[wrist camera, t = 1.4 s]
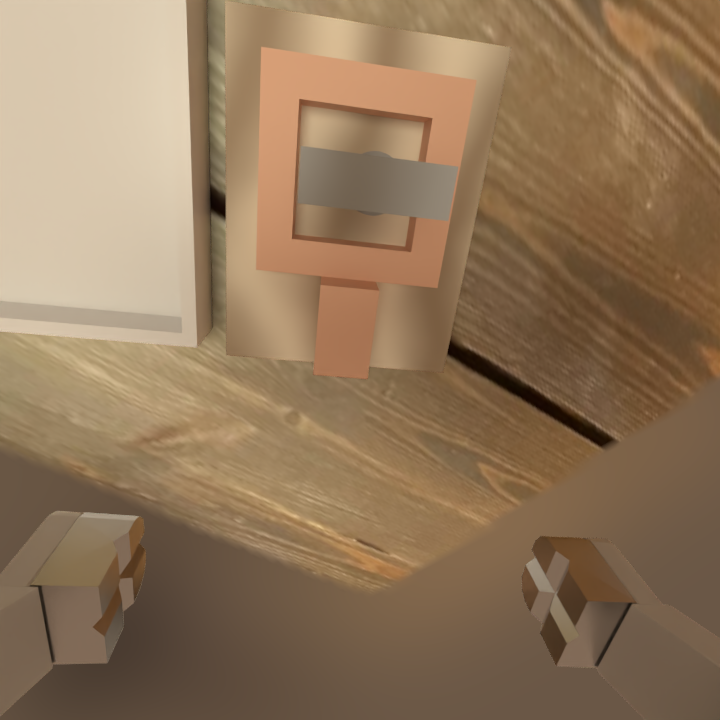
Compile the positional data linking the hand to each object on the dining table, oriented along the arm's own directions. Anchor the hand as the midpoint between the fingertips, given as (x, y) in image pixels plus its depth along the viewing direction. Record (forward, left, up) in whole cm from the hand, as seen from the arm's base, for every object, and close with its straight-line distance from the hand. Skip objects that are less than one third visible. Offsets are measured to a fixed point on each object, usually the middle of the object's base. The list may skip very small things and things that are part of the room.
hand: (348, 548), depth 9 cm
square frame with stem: (0, -4, -19) cm, 19 cm away
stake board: (0, -5, -20) cm, 21 cm away
